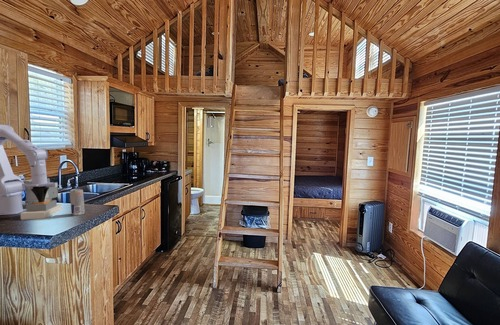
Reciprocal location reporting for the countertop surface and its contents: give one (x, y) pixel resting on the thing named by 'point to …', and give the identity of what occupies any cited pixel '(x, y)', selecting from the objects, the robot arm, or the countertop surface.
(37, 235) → the countertop surface
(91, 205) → the countertop surface
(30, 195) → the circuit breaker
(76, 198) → the energy drink
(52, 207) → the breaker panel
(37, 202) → the button
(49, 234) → the countertop surface
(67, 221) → the countertop surface
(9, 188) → the robot arm
